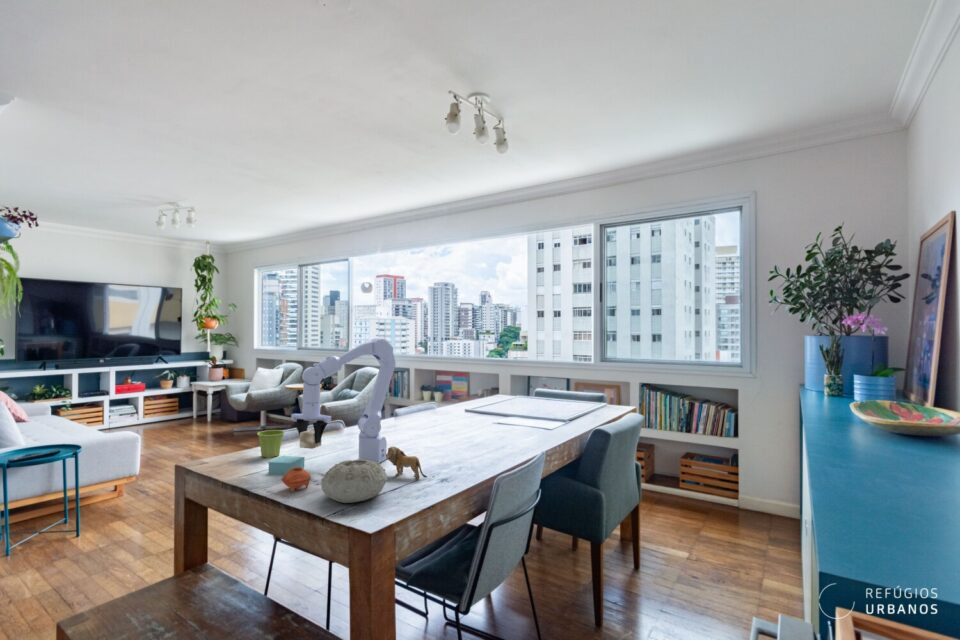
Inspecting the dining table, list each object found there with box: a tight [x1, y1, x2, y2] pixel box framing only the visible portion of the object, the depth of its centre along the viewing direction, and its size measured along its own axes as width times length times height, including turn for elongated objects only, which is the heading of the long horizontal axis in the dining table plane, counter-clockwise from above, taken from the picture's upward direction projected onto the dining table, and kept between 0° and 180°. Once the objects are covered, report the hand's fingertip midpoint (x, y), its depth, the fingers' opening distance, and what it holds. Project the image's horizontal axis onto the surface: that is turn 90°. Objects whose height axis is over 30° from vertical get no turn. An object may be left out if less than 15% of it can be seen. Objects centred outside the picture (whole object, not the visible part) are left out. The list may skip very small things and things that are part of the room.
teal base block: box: [268, 455, 305, 475], centre depth 159 cm, size 8×8×4 cm
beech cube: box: [299, 429, 322, 450], centre depth 163 cm, size 5×5×5 cm
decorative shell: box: [320, 459, 388, 504], centre depth 134 cm, size 18×18×10 cm
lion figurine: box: [386, 446, 428, 481], centre depth 154 cm, size 15×5×9 cm, turn 69°
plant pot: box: [257, 429, 286, 459], centre depth 177 cm, size 9×9×9 cm
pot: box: [281, 467, 312, 493], centre depth 141 cm, size 8×8×7 cm
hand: (310, 442), depth 163 cm, fingers closed on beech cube, 5 cm apart
